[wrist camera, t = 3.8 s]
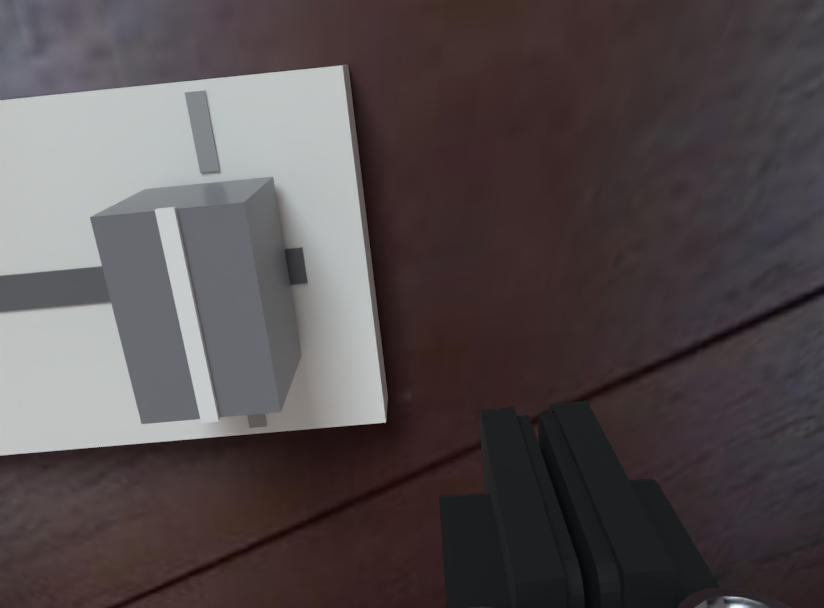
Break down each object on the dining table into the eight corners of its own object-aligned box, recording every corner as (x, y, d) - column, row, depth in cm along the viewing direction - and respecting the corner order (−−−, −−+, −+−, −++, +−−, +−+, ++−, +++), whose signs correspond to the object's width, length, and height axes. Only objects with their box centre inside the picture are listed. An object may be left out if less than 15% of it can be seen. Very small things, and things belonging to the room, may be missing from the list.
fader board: (348, 64, 23) (342, 65, 21) (387, 396, 27) (386, 424, 25) (-335, 134, 24) (-403, 141, 22) (-199, 447, 28) (-246, 478, 26)
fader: (272, 174, 22) (242, 201, 18) (301, 356, 24) (280, 416, 20) (144, 187, 22) (86, 216, 18) (184, 367, 24) (139, 428, 20)
